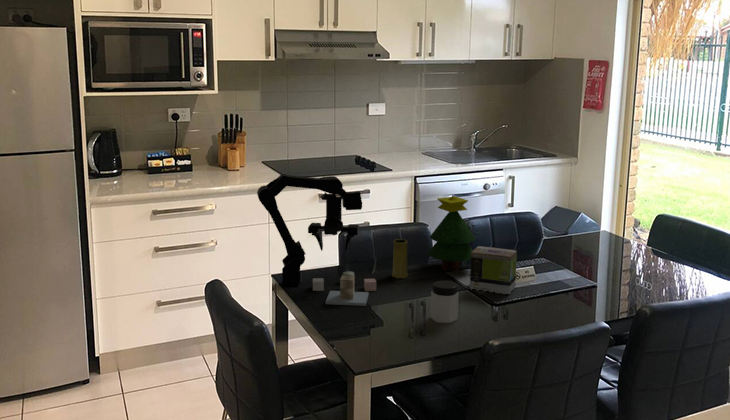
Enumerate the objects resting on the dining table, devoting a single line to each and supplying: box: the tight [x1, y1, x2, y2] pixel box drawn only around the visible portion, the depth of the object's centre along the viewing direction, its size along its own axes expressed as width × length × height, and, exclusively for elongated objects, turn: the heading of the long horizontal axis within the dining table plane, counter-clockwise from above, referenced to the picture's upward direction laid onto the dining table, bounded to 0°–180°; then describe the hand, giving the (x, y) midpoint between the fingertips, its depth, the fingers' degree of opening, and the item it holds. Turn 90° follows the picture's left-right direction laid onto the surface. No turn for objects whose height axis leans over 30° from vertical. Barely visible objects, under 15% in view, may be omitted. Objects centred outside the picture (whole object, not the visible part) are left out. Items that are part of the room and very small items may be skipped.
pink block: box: [363, 278, 377, 292], centre depth 272 cm, size 4×4×4 cm
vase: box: [391, 238, 409, 279], centre depth 286 cm, size 6×6×14 cm
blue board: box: [325, 290, 370, 307], centre depth 262 cm, size 14×11×1 cm
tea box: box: [469, 245, 518, 295], centre depth 272 cm, size 15×10×15 cm, turn 65°
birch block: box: [339, 275, 356, 299], centre depth 261 cm, size 4×4×7 cm
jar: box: [429, 280, 459, 324], centre depth 244 cm, size 9×8×12 cm
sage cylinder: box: [342, 270, 355, 276], centre depth 280 cm, size 4×4×4 cm
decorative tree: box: [427, 195, 477, 272], centre depth 293 cm, size 19×19×30 cm
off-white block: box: [312, 277, 325, 292], centre depth 272 cm, size 4×4×4 cm
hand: (333, 250), depth 278 cm, fingers open, 9 cm apart
